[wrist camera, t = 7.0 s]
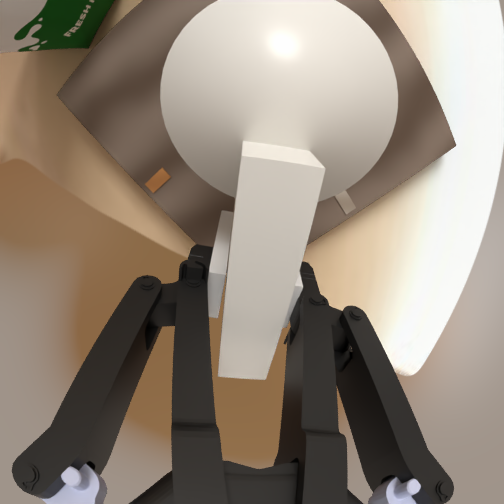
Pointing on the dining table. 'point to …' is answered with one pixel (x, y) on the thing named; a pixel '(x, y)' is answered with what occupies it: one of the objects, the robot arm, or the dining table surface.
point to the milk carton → (49, 23)
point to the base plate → (166, 155)
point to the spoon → (275, 140)
